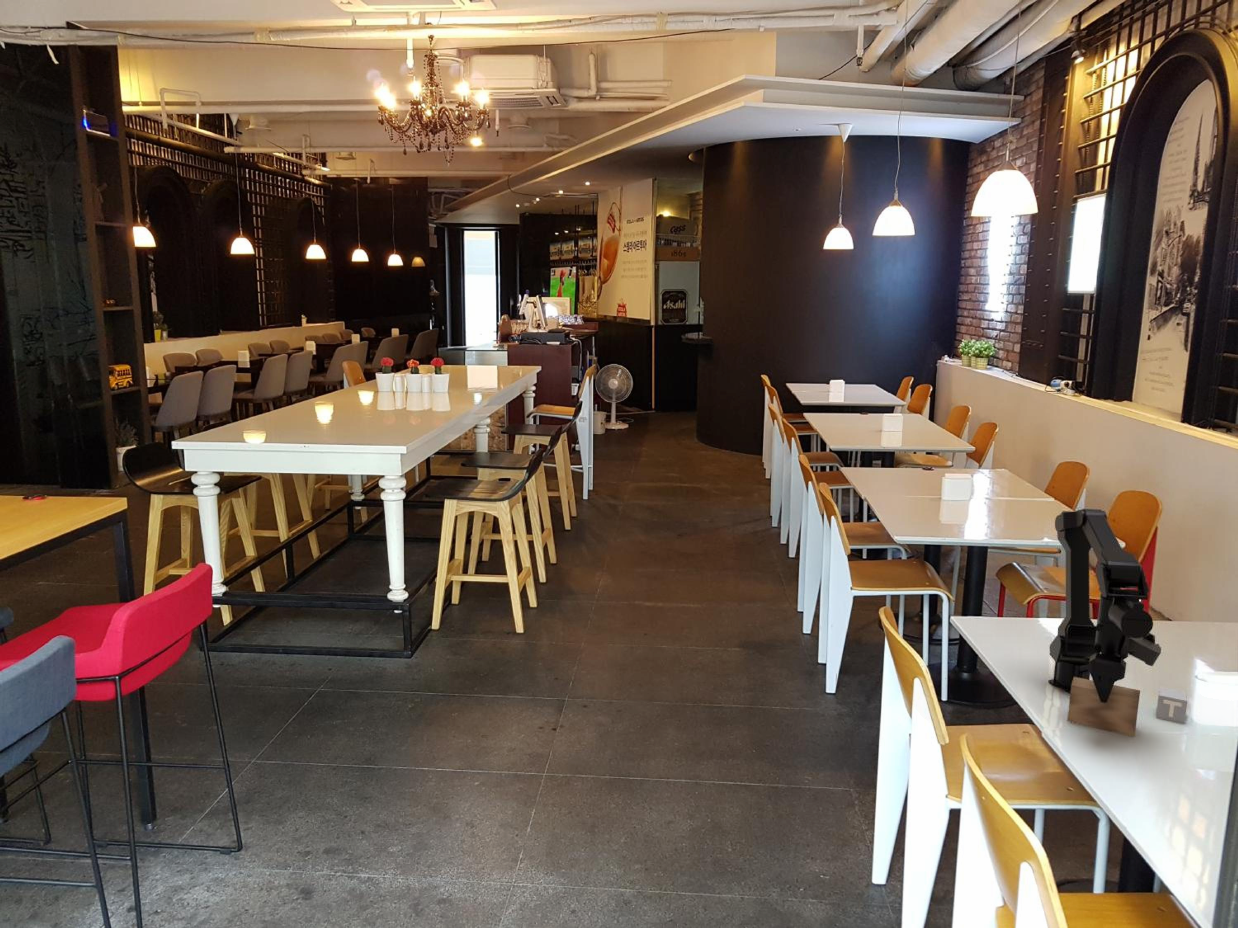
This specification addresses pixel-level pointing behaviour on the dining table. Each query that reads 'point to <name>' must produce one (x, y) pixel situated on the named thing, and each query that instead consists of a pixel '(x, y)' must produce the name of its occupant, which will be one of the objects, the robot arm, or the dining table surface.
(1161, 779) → the dining table surface
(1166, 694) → the letter cube
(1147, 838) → the dining table surface
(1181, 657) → the dining table surface
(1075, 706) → the brown wooden block
